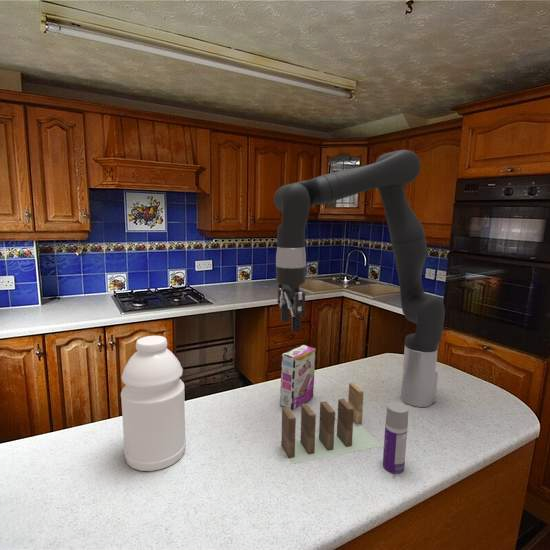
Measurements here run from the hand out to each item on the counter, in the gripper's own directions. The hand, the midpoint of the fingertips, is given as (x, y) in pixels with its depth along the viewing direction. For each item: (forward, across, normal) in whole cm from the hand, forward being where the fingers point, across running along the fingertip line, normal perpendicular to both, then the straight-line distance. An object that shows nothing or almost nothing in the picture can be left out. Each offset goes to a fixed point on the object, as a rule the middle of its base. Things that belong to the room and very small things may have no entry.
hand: (290, 325), depth 98 cm
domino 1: (+27, -12, +5) cm, 30 cm away
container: (+28, -24, -16) cm, 40 cm away
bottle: (+27, -4, +35) cm, 44 cm away
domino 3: (+27, -12, -5) cm, 30 cm away
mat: (+28, -12, -6) cm, 31 cm away
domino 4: (+27, -12, -10) cm, 32 cm away
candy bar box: (+28, +10, -6) cm, 30 cm away
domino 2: (+27, -12, 0) cm, 30 cm away
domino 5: (+28, -4, -18) cm, 33 cm away
